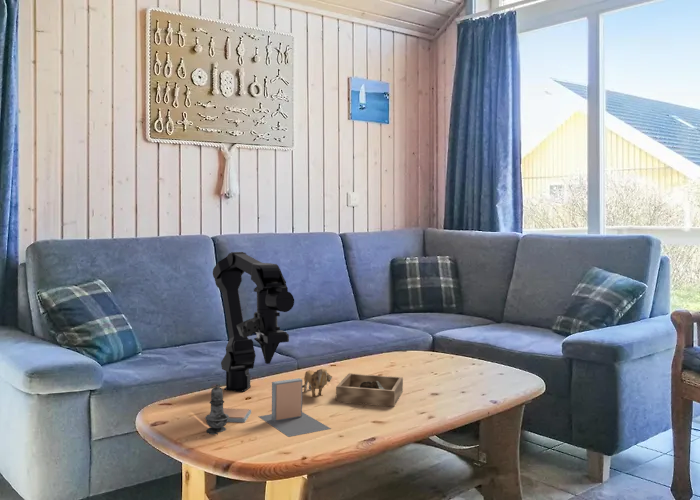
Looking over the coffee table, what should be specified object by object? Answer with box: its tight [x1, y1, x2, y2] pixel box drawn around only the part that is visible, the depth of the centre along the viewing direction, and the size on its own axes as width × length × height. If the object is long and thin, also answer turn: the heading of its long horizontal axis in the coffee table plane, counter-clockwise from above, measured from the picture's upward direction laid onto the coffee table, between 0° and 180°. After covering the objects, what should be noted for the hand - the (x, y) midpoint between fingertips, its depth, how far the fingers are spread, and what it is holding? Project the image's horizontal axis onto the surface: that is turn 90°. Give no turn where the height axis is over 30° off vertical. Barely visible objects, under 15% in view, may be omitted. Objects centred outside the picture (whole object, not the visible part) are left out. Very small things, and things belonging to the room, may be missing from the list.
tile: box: [271, 377, 303, 421], centre depth 175 cm, size 2×8×10 cm, turn 122°
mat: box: [258, 411, 332, 438], centre depth 172 cm, size 18×12×1 cm, turn 32°
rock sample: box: [359, 381, 384, 389], centre depth 199 cm, size 10×8×9 cm
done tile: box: [223, 407, 252, 423], centre depth 176 cm, size 10×8×2 cm
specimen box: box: [335, 372, 404, 408], centre depth 198 cm, size 17×16×4 cm
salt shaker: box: [204, 383, 229, 435], centre depth 166 cm, size 6×6×12 cm
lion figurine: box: [302, 368, 333, 398], centre depth 199 cm, size 15×5×9 cm, turn 34°
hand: (267, 363), depth 189 cm, fingers closed
